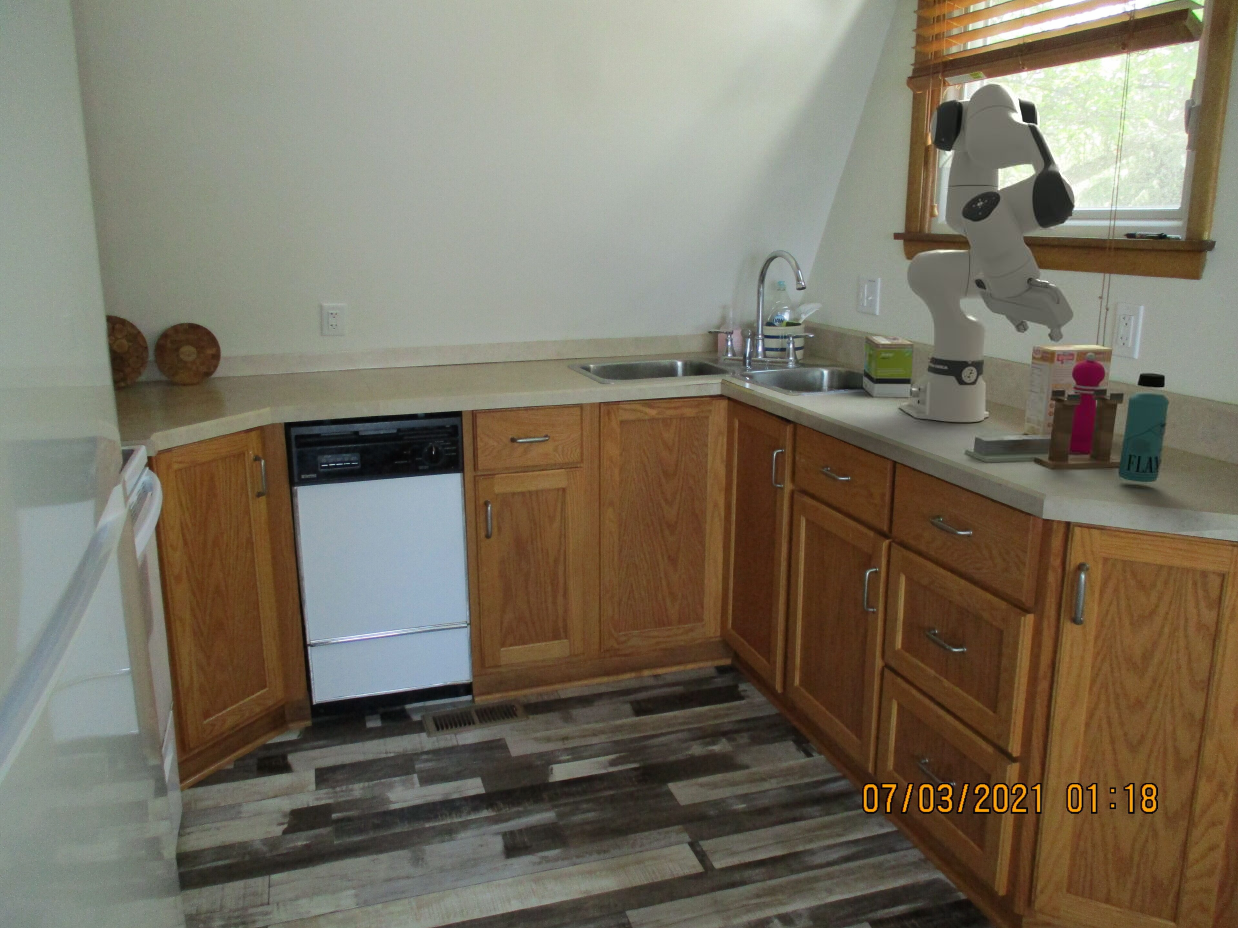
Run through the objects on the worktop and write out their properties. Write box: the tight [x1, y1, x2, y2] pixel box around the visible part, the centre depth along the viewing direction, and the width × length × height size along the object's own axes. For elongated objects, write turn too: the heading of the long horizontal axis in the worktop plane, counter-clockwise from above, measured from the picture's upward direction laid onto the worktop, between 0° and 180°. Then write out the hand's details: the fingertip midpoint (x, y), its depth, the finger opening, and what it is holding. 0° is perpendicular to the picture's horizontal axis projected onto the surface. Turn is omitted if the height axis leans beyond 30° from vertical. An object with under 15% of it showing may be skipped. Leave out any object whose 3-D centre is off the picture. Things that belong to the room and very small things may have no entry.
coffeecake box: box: [1023, 344, 1113, 436], centre depth 213 cm, size 15×7×20 cm, turn 102°
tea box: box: [862, 335, 914, 398], centre depth 265 cm, size 15×10×15 cm, turn 178°
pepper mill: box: [1069, 353, 1105, 455], centre depth 198 cm, size 7×7×20 cm
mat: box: [964, 448, 1049, 463], centre depth 195 cm, size 8×17×1 cm, turn 101°
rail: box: [973, 434, 1051, 456], centre depth 194 cm, size 4×16×3 cm, turn 101°
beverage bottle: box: [1117, 372, 1170, 483], centre depth 171 cm, size 6×7×20 cm
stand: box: [1033, 388, 1125, 470], centre depth 187 cm, size 6×15×14 cm, turn 101°
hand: (1040, 335), depth 186 cm, fingers open, 8 cm apart
